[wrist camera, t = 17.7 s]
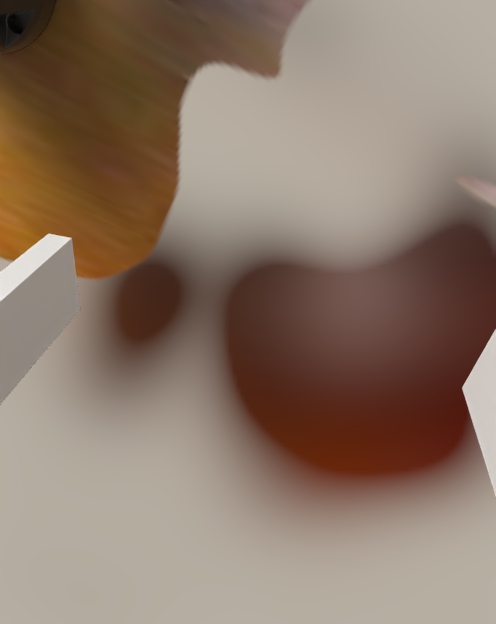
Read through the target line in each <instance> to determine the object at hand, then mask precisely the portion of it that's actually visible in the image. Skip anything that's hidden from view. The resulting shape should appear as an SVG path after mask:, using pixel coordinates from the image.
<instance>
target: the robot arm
mask: <svg viewBox="0 0 496 624" xmlns="http://www.w3.org/2000/svg"><path fill="white" fill-rule="evenodd" d="M55 2H56V0H0V54H4V53H10V52H14V51H17V50H20V49H22V48H24V47H26V46H28V45H29V44H31V43H32V42H33V41H34V40H35V39H36V38H37V37H38V36H39V35H40V34H41V33H42V31H43V30H44V28H45V27H46V25H47V23H48V22H49V20H50V17H51V15H52V12H53V9H54V6H55ZM79 311H80V302H79V293H78V285H77V277H76V269H75V260H74V252H73V244H72V238H69V237H64V236H58V235H53V234H47V235H46V236H45V237H44V238H42V239H41V240H40V241H39V242H37V243H36V244H35V245H34V246H32V247H31V248H30V249H29V250H27V251H26V252H25V253H24V254H22V255H21V256H20V257H19V258H17V259H16V260H15V261H14V262H12V263H11V264H10V265H9V266H7V267H6V268H5V269H4V270H2V271H1V272H0V404H1V403H2V402H3V401H4V400H5V398H6V397H7V396H8V395H9V394H10V393H11V391H12V390H13V389H14V388H15V387H16V385H17V384H18V383H19V382H20V381H21V379H22V378H23V377H24V376H25V374H27V372H28V371H29V370H30V369H31V368H32V366H33V365H34V364H35V363H36V362H37V360H38V359H39V358H40V357H41V356H42V354H43V353H44V352H45V351H46V350H47V348H48V347H49V346H50V345H51V344H52V343H53V341H54V340H55V339H56V338H57V337H58V335H59V334H60V333H61V332H62V331H63V329H64V328H65V327H66V326H67V325H68V324H69V322H70V321H71V320H72V319H73V317H74V316H75V315H76V314H77V313H78V312H79ZM462 389H463V392H464V396H465V399H466V402H467V405H468V408H469V412H470V415H471V418H472V421H473V424H474V428H475V431H476V434H477V437H478V441H479V444H480V447H481V450H482V454H483V457H484V460H485V464H486V467H487V470H488V473H489V476H490V479H491V483H492V486H493V489H494V492H495V496H496V330H495V331H494V333H493V335H492V336H491V338H490V340H489V342H488V343H487V345H486V347H485V349H484V351H483V352H482V354H481V356H480V358H479V359H478V361H477V363H476V365H475V366H474V368H473V370H472V372H471V373H470V375H469V377H468V379H467V381H466V382H465V384H464V386H463V387H462Z"/></svg>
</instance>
